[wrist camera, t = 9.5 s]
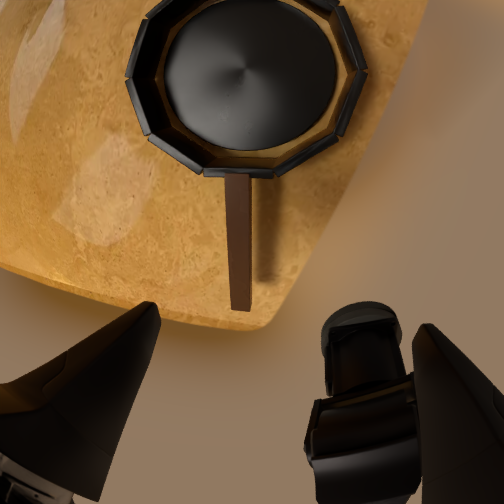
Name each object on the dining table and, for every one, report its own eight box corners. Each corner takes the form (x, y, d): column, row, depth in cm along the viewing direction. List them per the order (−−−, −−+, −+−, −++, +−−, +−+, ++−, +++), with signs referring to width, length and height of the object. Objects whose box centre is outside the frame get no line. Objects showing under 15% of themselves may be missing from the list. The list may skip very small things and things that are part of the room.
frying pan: (151, 3, 12) (126, -9, 9) (352, -8, 10) (363, -28, 7) (171, 274, 24) (155, 299, 21) (330, 289, 22) (334, 318, 19)
